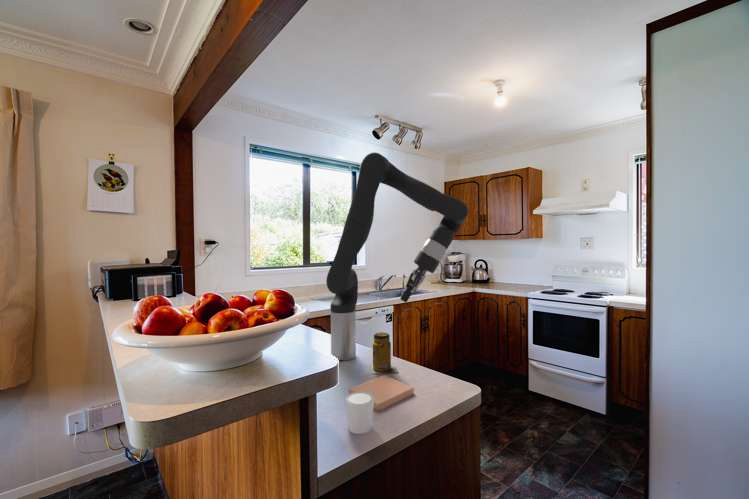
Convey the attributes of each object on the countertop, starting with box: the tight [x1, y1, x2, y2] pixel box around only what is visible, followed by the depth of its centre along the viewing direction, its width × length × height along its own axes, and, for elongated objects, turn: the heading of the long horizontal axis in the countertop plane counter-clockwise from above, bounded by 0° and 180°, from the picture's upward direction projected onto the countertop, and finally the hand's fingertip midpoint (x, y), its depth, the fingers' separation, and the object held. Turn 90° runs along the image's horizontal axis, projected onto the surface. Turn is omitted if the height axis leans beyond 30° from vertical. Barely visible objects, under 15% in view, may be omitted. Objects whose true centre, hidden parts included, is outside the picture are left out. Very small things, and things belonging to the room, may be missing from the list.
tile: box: [348, 374, 415, 412], centre depth 97 cm, size 2×12×14 cm
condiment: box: [370, 332, 399, 375], centre depth 114 cm, size 7×8×12 cm
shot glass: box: [344, 392, 374, 435], centre depth 80 cm, size 7×7×7 cm
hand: (403, 300), depth 111 cm, fingers closed
